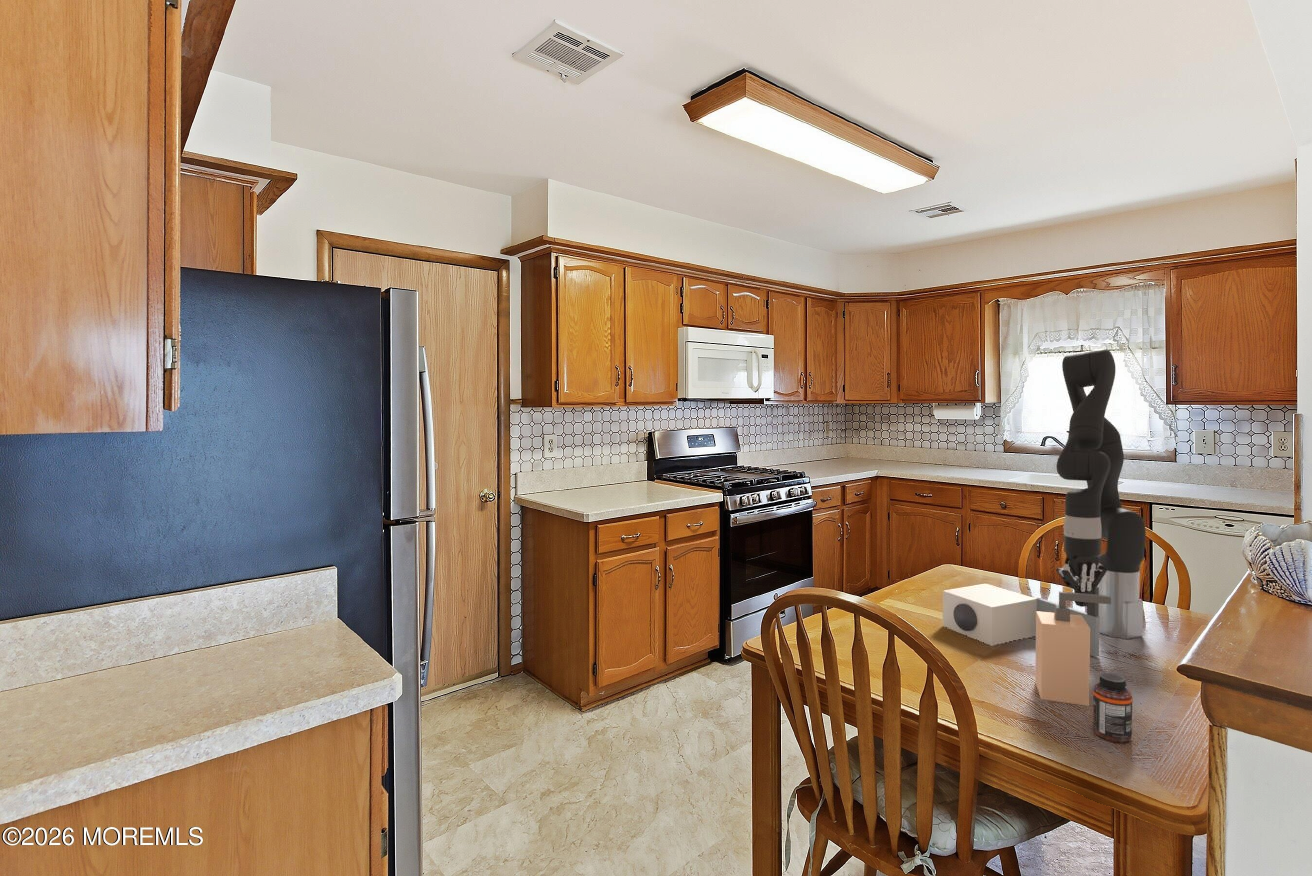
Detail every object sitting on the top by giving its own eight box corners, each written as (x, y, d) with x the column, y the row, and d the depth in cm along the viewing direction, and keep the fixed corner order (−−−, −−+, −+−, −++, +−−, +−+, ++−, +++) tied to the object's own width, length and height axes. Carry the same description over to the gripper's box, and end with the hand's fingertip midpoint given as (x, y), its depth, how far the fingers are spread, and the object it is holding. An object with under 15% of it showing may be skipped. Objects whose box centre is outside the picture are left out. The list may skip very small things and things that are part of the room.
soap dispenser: (1040, 699, 136) (1042, 596, 134) (1035, 682, 144) (1036, 585, 142) (1113, 709, 131) (1115, 602, 129) (1103, 692, 139) (1105, 590, 137)
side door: (1039, 633, 172) (1040, 571, 171) (1099, 656, 156) (1101, 588, 155) (1035, 634, 172) (1035, 572, 171) (1095, 657, 156) (1096, 588, 155)
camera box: (1036, 636, 171) (1036, 598, 170) (989, 646, 165) (989, 607, 164) (985, 617, 186) (985, 583, 185) (940, 626, 180) (940, 591, 179)
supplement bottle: (1094, 724, 125) (1095, 667, 124) (1132, 734, 121) (1133, 675, 121) (1090, 737, 120) (1091, 678, 120) (1130, 747, 117) (1131, 686, 116)
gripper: (1072, 539, 150) (1071, 613, 151) (1119, 535, 153) (1118, 607, 154) (1046, 533, 157) (1045, 603, 158) (1091, 529, 160) (1090, 598, 161)
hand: (1081, 605), depth 156 cm, fingers closed
